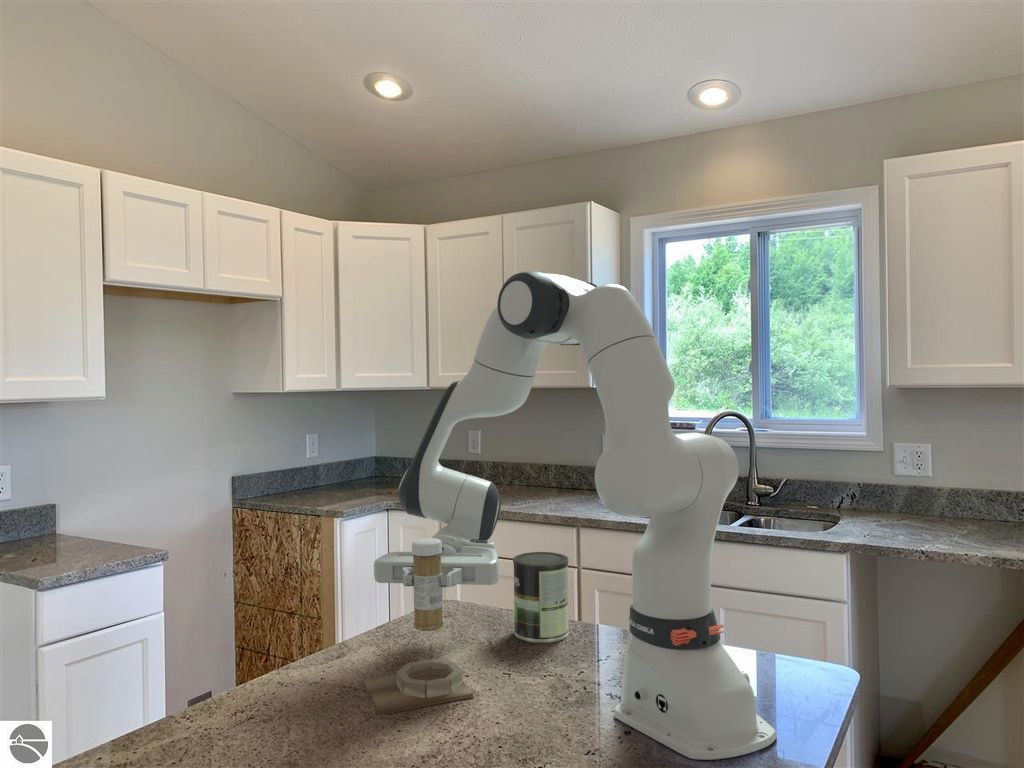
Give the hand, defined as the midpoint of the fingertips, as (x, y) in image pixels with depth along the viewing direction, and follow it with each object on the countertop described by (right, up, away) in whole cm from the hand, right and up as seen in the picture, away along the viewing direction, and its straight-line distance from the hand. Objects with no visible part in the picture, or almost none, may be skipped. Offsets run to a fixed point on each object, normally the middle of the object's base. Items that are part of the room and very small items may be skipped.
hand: (426, 581), depth 114 cm
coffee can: (+19, -16, +25) cm, 35 cm away
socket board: (-1, -17, 0) cm, 17 cm away
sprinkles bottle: (0, -7, +1) cm, 8 cm away
